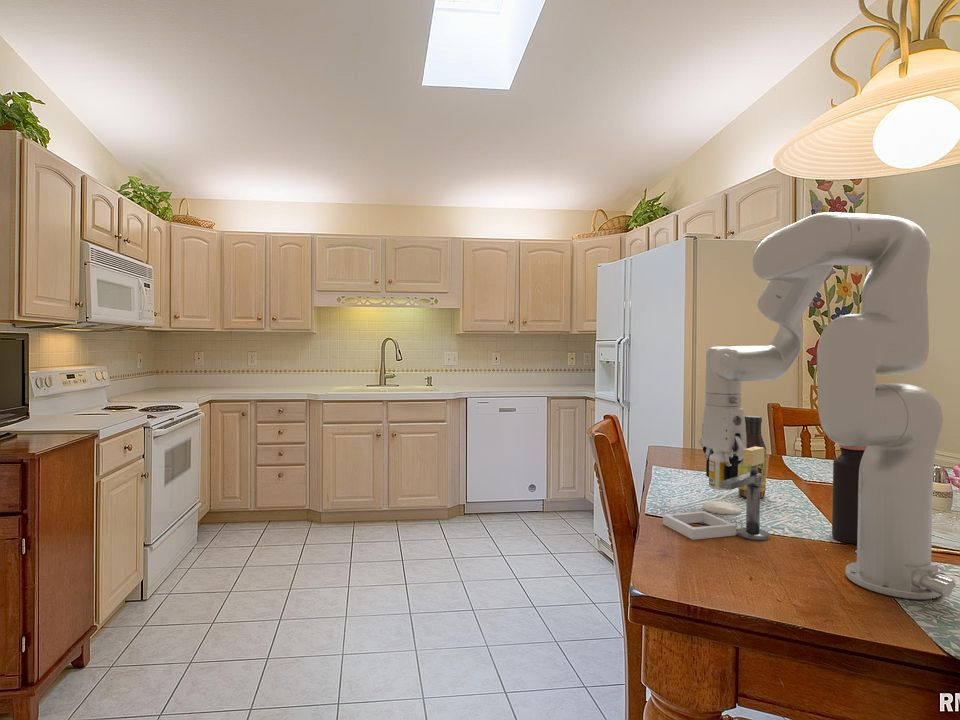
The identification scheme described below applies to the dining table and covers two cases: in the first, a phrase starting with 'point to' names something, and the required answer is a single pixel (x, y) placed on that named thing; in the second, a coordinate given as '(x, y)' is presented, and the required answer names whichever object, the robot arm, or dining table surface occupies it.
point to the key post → (753, 517)
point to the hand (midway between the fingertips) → (721, 479)
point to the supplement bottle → (717, 469)
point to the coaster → (721, 507)
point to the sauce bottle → (753, 440)
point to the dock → (714, 530)
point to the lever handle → (752, 459)
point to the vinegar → (846, 494)
